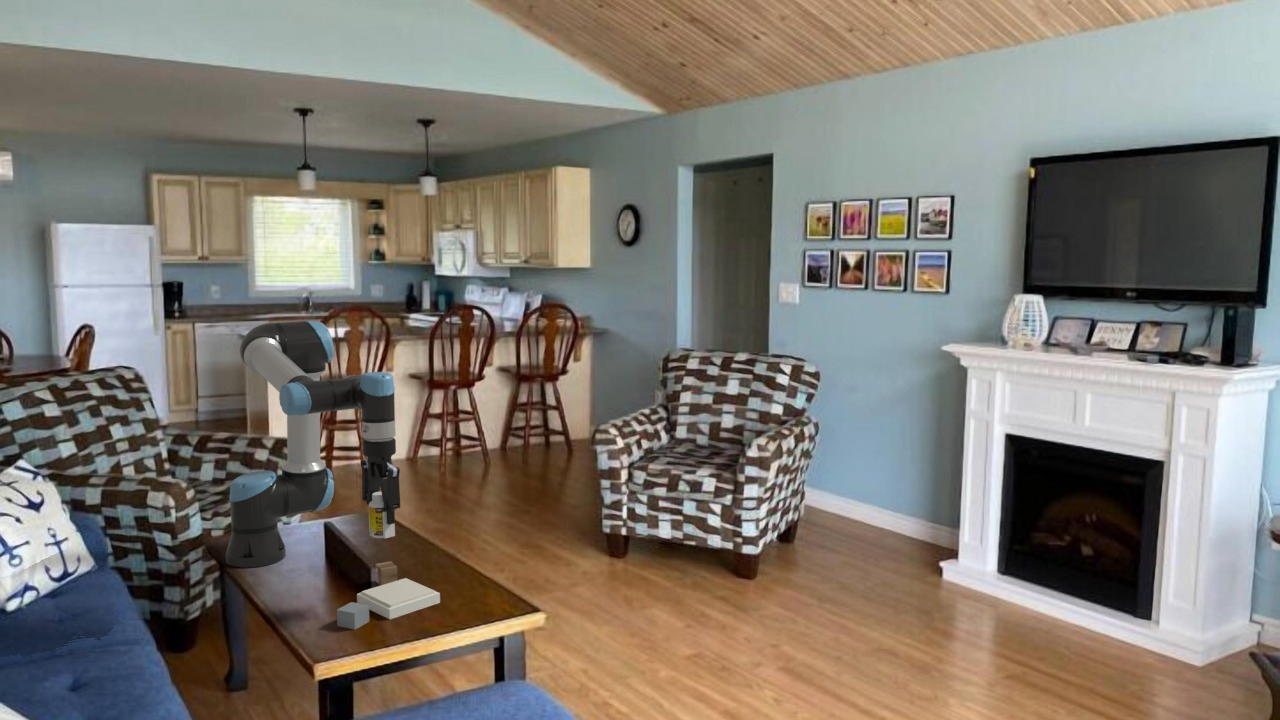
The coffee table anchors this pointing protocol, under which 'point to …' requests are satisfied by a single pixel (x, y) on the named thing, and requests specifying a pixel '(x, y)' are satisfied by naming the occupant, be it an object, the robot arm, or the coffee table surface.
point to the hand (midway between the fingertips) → (382, 533)
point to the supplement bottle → (376, 515)
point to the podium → (398, 598)
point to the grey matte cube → (353, 615)
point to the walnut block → (387, 572)
